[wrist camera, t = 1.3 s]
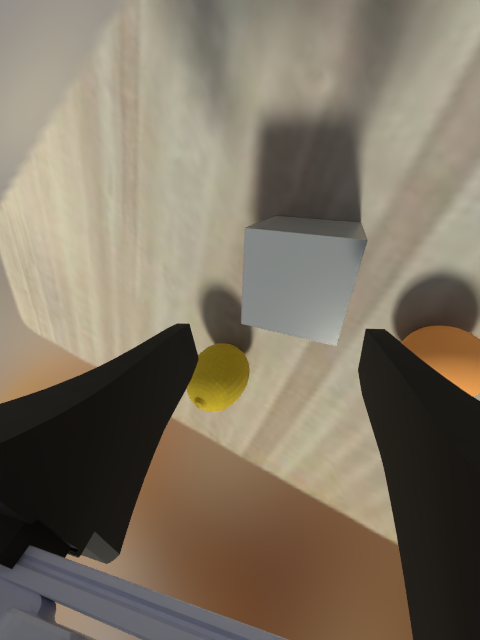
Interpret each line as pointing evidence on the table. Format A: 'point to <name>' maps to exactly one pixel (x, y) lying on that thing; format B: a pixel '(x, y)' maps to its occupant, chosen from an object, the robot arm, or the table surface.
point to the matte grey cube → (300, 275)
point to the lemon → (218, 377)
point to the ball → (449, 354)
